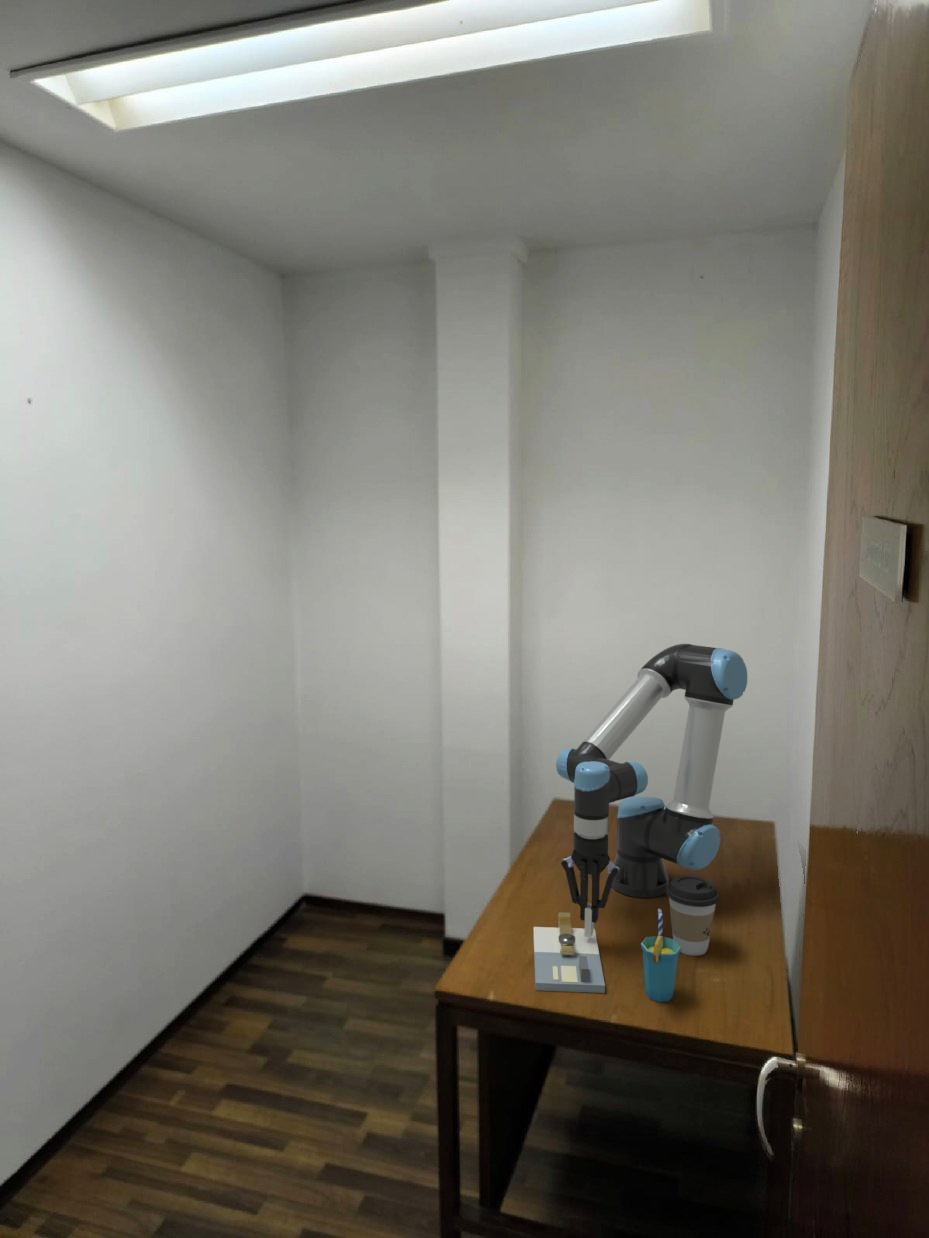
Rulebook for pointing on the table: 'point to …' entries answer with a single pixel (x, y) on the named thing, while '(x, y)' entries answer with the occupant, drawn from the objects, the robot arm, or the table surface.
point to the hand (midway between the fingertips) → (589, 933)
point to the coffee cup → (692, 912)
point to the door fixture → (567, 962)
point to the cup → (660, 964)
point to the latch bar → (565, 934)
